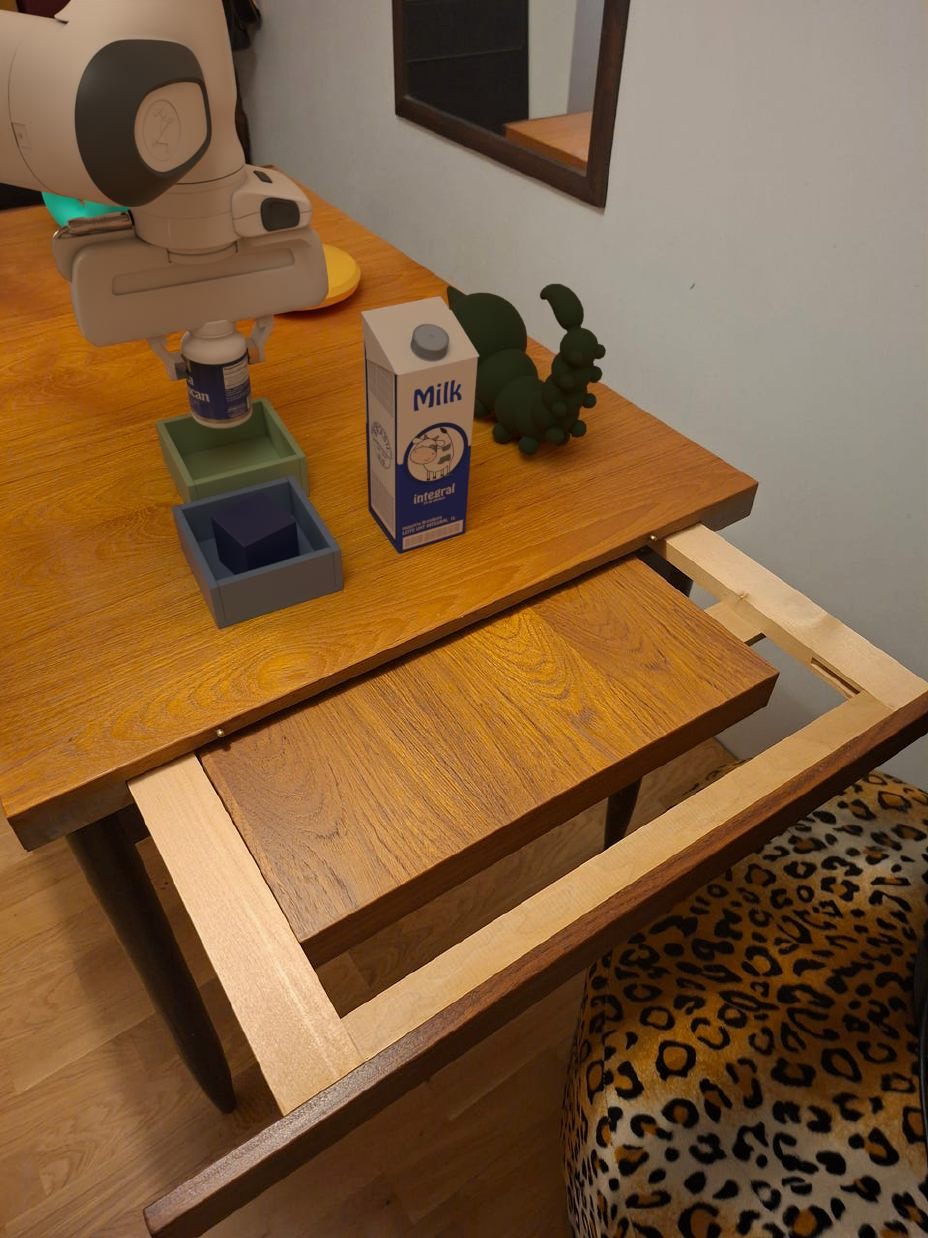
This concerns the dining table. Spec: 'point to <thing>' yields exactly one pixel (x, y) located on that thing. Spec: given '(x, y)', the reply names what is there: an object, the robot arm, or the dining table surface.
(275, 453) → the green bin
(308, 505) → the blue bin
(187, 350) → the pill bottle
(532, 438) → the toy figurine
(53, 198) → the donuts
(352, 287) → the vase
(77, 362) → the dining table surface
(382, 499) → the milk carton
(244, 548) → the navy block
